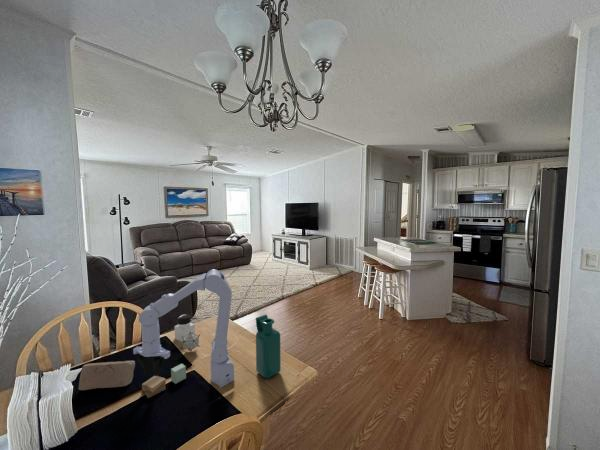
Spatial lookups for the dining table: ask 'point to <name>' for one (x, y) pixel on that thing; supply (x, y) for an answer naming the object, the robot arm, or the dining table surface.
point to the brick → (106, 375)
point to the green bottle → (267, 347)
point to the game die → (190, 341)
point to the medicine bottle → (184, 327)
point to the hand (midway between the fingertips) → (152, 373)
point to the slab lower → (154, 392)
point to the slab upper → (153, 384)
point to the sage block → (178, 373)
